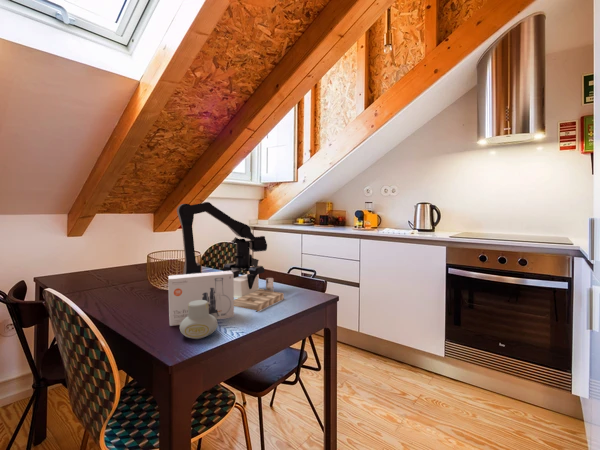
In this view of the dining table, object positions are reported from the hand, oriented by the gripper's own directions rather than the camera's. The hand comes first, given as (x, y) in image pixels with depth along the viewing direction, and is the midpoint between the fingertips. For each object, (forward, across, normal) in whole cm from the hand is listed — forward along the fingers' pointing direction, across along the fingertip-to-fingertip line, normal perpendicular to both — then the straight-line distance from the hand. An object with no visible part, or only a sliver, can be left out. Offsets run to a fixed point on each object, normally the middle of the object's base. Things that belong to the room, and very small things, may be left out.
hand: (243, 287), depth 142 cm
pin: (+3, -11, -4) cm, 12 cm away
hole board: (+2, -14, +8) cm, 16 cm away
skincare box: (+3, -8, +32) cm, 33 cm away
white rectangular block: (+2, 0, 0) cm, 2 cm away
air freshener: (+3, -17, +42) cm, 45 cm away
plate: (+2, 0, 0) cm, 2 cm away
